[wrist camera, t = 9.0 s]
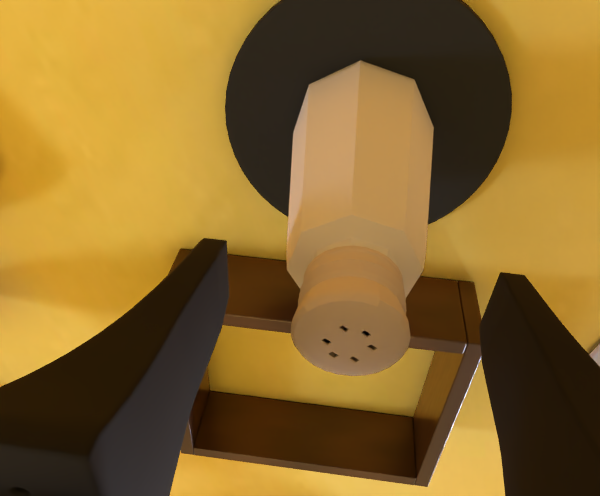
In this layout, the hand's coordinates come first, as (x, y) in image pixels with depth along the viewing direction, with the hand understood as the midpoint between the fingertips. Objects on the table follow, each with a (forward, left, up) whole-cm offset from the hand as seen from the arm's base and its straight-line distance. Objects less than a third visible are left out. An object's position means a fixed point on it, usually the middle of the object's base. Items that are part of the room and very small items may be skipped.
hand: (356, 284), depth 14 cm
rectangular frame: (-1, +14, -9) cm, 17 cm away
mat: (0, 0, -9) cm, 9 cm away
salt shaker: (0, 0, -9) cm, 9 cm away
